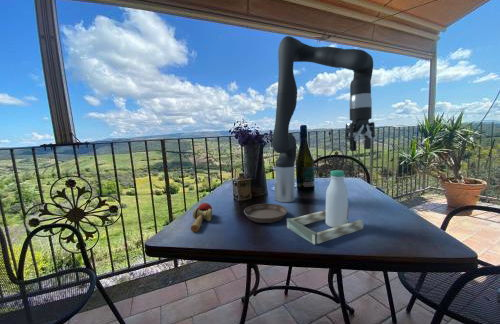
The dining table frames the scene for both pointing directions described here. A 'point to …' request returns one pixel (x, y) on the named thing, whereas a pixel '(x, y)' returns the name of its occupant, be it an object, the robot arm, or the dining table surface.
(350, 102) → the robot arm
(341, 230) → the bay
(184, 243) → the dining table surface
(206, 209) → the kendama
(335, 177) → the milk bottle
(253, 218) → the plant saucer
